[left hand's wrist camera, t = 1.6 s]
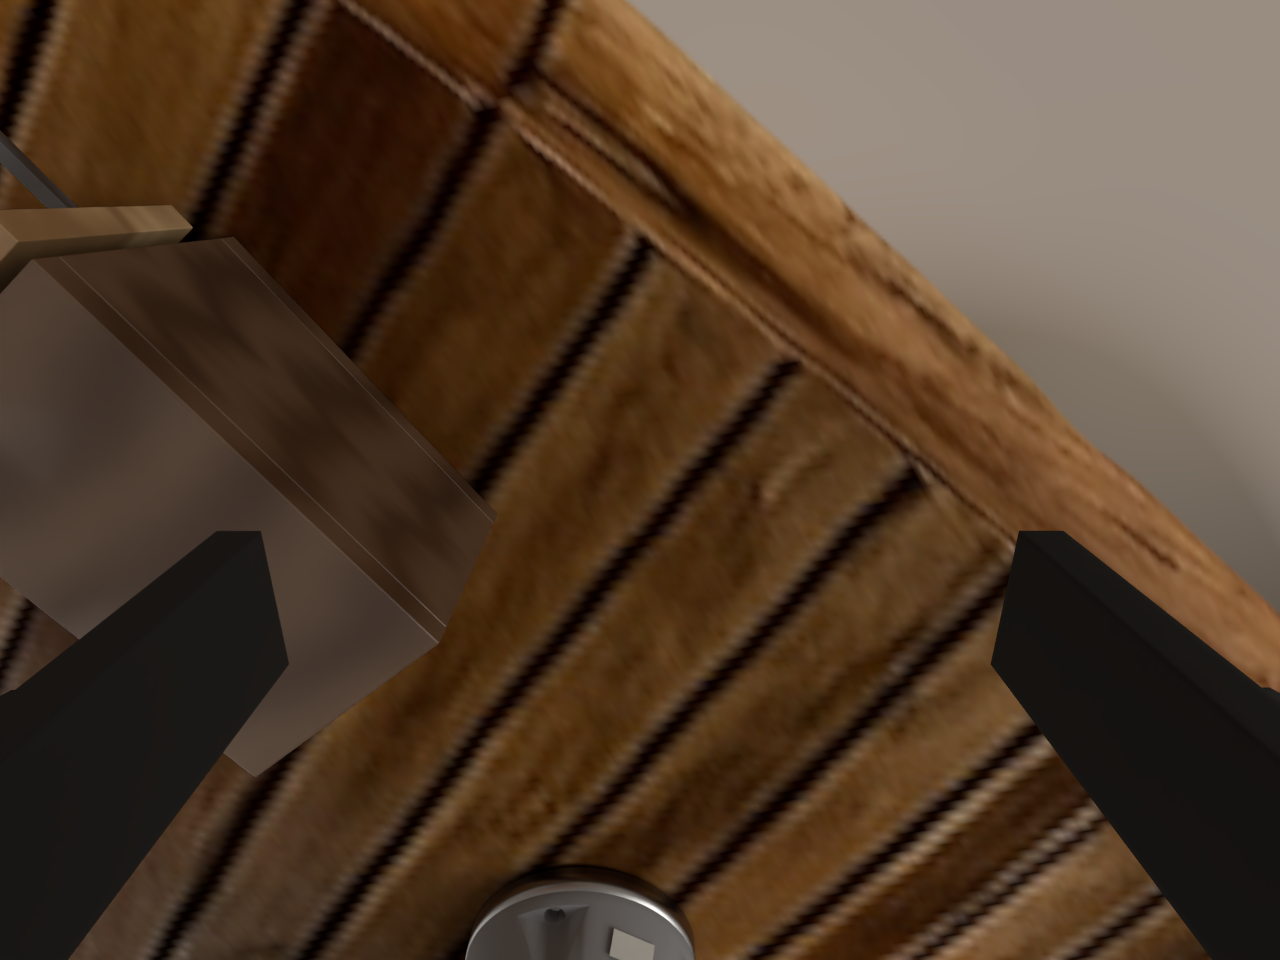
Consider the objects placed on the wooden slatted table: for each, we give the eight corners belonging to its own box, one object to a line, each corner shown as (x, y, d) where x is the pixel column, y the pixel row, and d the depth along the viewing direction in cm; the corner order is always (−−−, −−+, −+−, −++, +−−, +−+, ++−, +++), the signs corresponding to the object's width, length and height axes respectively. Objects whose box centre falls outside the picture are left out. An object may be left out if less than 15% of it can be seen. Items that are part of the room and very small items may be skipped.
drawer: (-64, 238, 31) (-339, 256, 23) (61, 90, 29) (-188, 46, 21) (309, 579, 38) (208, 697, 29) (435, 477, 36) (367, 571, 27)
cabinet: (93, 377, 35) (-152, 459, 24) (233, 236, 32) (30, 258, 22) (359, 620, 40) (254, 778, 29) (497, 514, 37) (439, 643, 27)
